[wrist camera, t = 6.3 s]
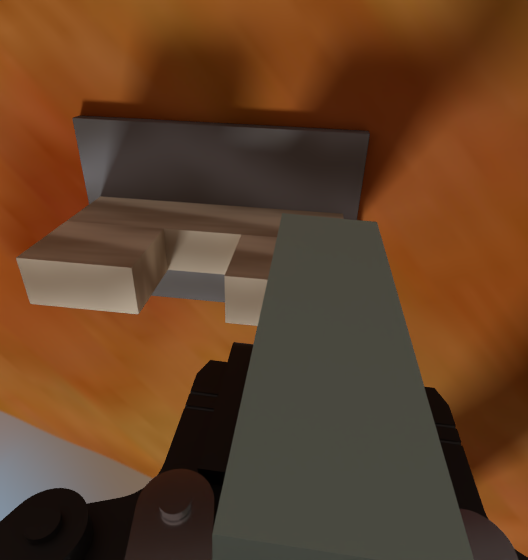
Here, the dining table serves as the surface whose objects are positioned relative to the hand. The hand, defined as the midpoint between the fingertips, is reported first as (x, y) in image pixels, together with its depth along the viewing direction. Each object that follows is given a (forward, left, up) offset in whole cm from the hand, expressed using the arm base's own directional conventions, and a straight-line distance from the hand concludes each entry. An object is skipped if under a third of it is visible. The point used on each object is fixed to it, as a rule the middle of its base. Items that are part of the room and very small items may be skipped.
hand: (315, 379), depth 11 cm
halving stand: (-3, +8, -21) cm, 23 cm away
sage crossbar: (-4, +1, -5) cm, 6 cm away
